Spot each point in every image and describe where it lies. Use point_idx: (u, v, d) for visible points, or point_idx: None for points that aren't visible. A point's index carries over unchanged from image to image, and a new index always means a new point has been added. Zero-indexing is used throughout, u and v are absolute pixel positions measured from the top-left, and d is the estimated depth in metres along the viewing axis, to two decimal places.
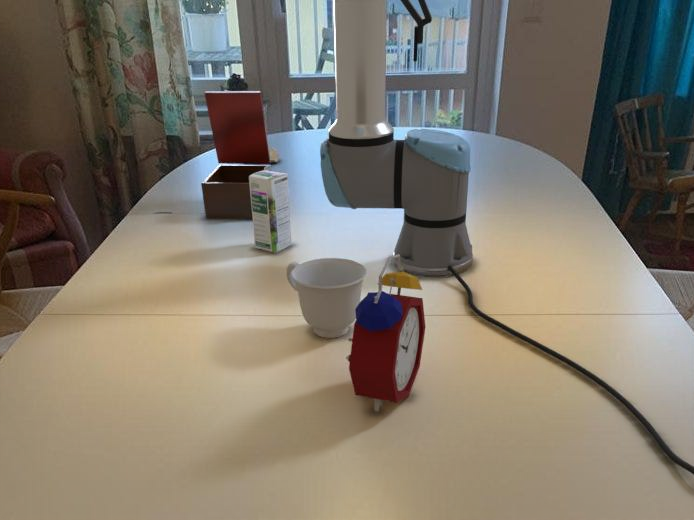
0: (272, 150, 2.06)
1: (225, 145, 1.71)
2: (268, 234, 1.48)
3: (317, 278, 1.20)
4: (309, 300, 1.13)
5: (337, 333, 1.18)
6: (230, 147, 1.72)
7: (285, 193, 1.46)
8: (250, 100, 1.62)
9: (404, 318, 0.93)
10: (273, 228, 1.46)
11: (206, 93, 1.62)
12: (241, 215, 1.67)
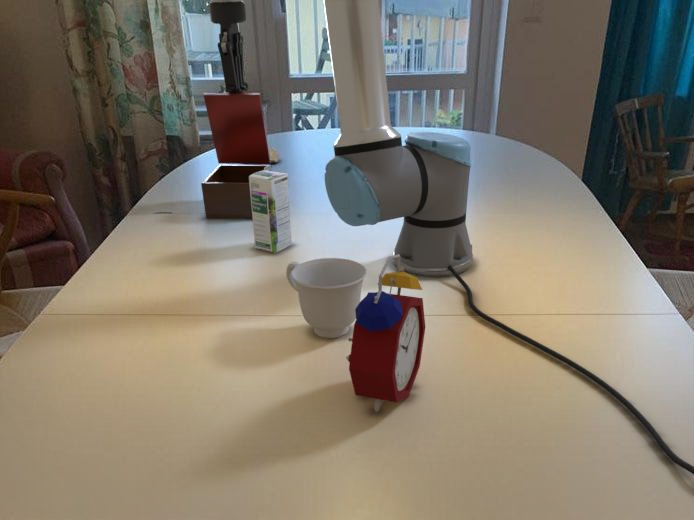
0: (272, 150, 2.06)
1: (225, 146, 1.71)
2: (268, 234, 1.48)
3: (317, 278, 1.20)
4: (309, 300, 1.13)
5: (337, 333, 1.18)
6: (230, 148, 1.72)
7: (285, 193, 1.46)
8: (249, 102, 1.62)
9: (404, 318, 0.93)
10: (273, 228, 1.46)
11: (205, 95, 1.62)
12: (241, 215, 1.67)
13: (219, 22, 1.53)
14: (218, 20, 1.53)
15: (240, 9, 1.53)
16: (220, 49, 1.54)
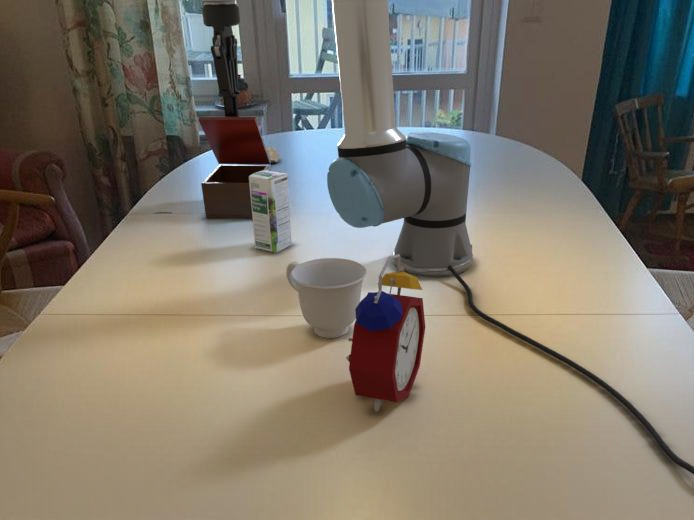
0: (272, 150, 2.06)
1: (224, 153, 1.71)
2: (268, 234, 1.48)
3: (317, 278, 1.20)
4: (309, 300, 1.13)
5: (337, 333, 1.18)
6: (229, 154, 1.71)
7: (285, 193, 1.46)
8: (245, 124, 1.60)
9: (404, 318, 0.93)
10: (273, 228, 1.46)
11: (200, 120, 1.59)
12: (241, 215, 1.67)
13: (212, 25, 1.49)
14: (211, 23, 1.49)
15: (234, 11, 1.49)
16: (213, 53, 1.50)
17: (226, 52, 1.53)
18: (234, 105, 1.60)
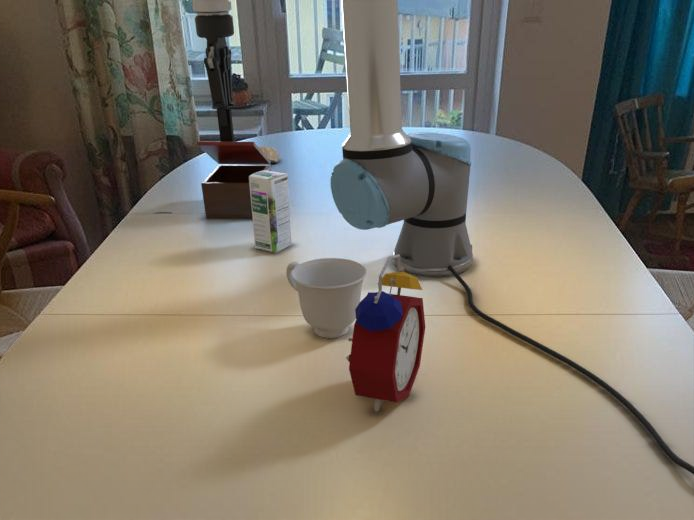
0: (272, 150, 2.06)
1: (224, 159, 1.71)
2: (268, 234, 1.48)
3: (317, 278, 1.20)
4: (309, 300, 1.13)
5: (337, 333, 1.18)
6: (229, 160, 1.71)
7: (285, 193, 1.46)
8: (244, 147, 1.60)
9: (404, 318, 0.93)
10: (273, 228, 1.46)
11: (199, 145, 1.60)
12: (241, 215, 1.67)
13: (205, 36, 1.45)
14: (204, 34, 1.45)
15: (228, 23, 1.45)
16: (207, 65, 1.46)
17: (220, 64, 1.49)
18: (228, 117, 1.57)
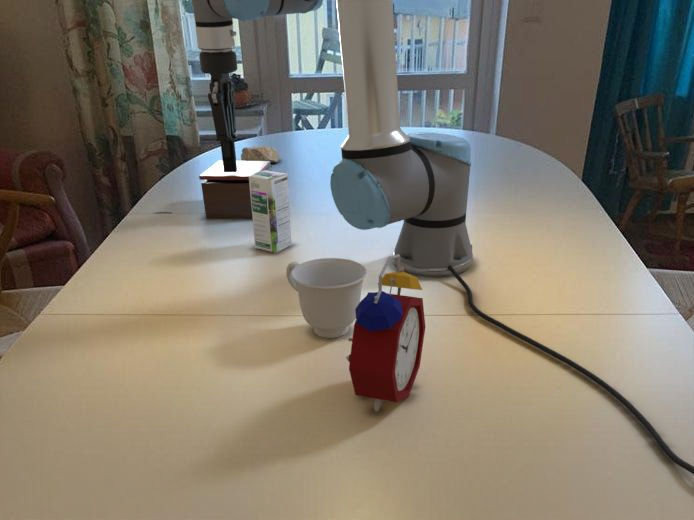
0: (272, 150, 2.06)
1: None
2: (268, 234, 1.48)
3: (317, 278, 1.20)
4: (309, 300, 1.13)
5: (337, 333, 1.18)
6: None
7: (285, 193, 1.46)
8: None
9: (404, 318, 0.93)
10: (273, 228, 1.46)
11: (201, 179, 1.62)
12: (241, 215, 1.67)
13: (209, 72, 1.49)
14: (208, 70, 1.49)
15: (231, 59, 1.49)
16: (211, 100, 1.50)
17: (223, 98, 1.53)
18: (231, 149, 1.60)
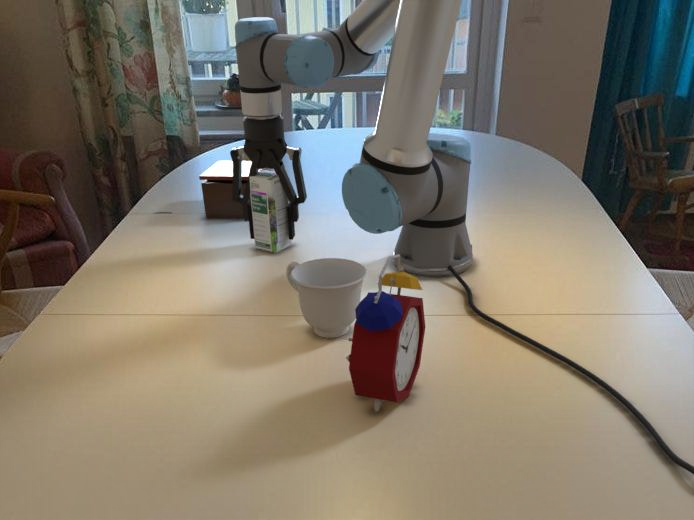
0: None
1: None
2: (268, 234, 1.48)
3: (317, 278, 1.20)
4: (309, 300, 1.13)
5: (337, 333, 1.18)
6: None
7: (285, 193, 1.46)
8: None
9: (404, 318, 0.93)
10: (273, 228, 1.46)
11: (201, 179, 1.62)
12: (241, 215, 1.67)
13: (282, 137, 1.38)
14: (281, 135, 1.38)
15: None
16: (299, 156, 1.40)
17: None
18: None
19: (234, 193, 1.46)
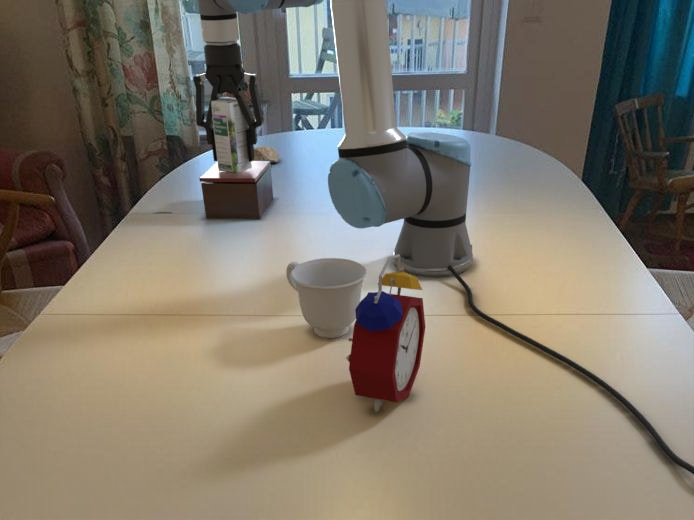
0: (272, 150, 2.06)
1: None
2: (229, 156, 1.63)
3: (317, 278, 1.20)
4: (309, 300, 1.13)
5: (337, 333, 1.18)
6: None
7: (243, 117, 1.60)
8: None
9: (404, 318, 0.93)
10: (233, 149, 1.61)
11: (201, 181, 1.62)
12: (241, 215, 1.67)
13: (239, 63, 1.53)
14: (238, 61, 1.53)
15: None
16: (255, 81, 1.55)
17: None
18: None
19: (197, 117, 1.60)
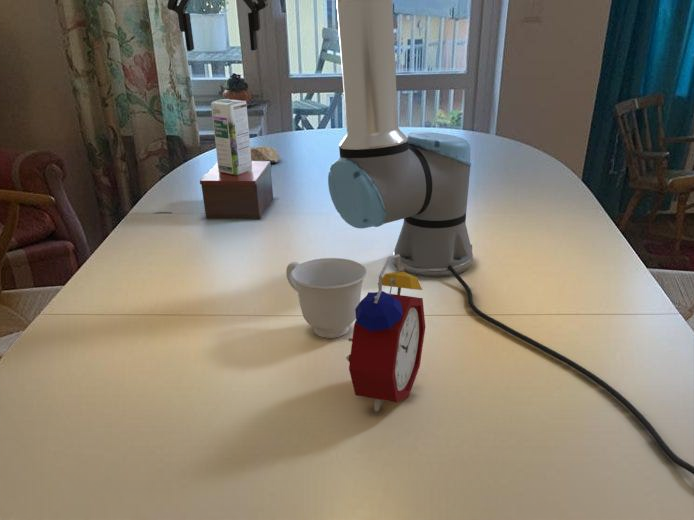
0: (272, 150, 2.06)
1: None
2: (230, 158, 1.63)
3: (317, 278, 1.20)
4: (309, 300, 1.13)
5: (337, 333, 1.18)
6: None
7: (244, 119, 1.61)
8: None
9: (404, 318, 0.93)
10: (234, 151, 1.61)
11: (202, 183, 1.63)
12: (241, 215, 1.67)
13: None
14: None
15: None
16: None
17: None
18: None
19: None
